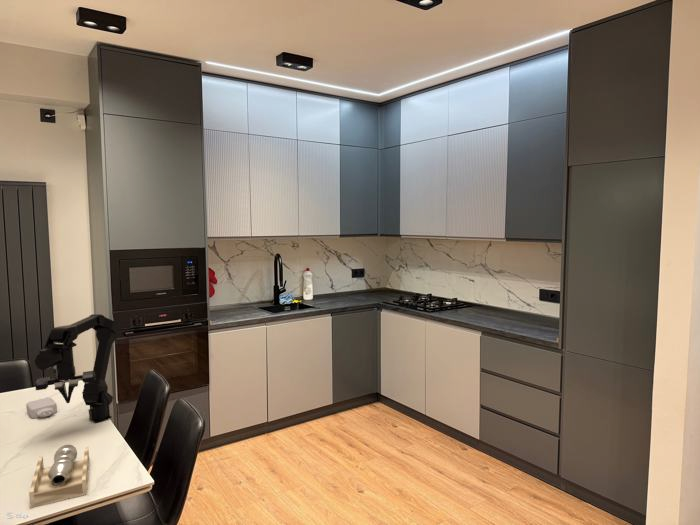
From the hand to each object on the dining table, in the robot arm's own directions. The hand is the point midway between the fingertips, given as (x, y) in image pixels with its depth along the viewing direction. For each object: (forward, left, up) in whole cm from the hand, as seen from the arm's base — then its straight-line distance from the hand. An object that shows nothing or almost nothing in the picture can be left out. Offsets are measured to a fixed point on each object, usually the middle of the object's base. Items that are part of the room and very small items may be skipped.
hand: (68, 402), depth 183 cm
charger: (-1, -32, -14) cm, 35 cm away
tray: (+14, +32, -13) cm, 37 cm away
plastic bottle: (+8, +19, -10) cm, 23 cm away
